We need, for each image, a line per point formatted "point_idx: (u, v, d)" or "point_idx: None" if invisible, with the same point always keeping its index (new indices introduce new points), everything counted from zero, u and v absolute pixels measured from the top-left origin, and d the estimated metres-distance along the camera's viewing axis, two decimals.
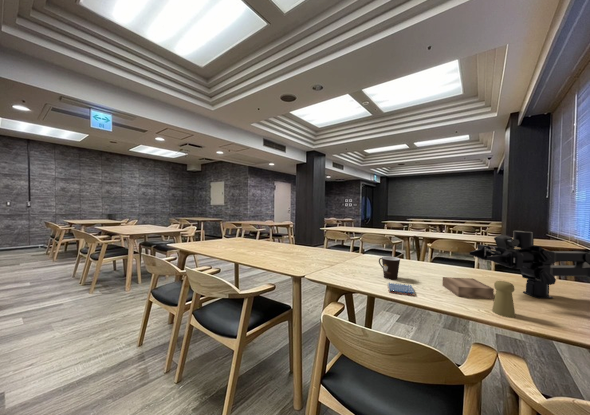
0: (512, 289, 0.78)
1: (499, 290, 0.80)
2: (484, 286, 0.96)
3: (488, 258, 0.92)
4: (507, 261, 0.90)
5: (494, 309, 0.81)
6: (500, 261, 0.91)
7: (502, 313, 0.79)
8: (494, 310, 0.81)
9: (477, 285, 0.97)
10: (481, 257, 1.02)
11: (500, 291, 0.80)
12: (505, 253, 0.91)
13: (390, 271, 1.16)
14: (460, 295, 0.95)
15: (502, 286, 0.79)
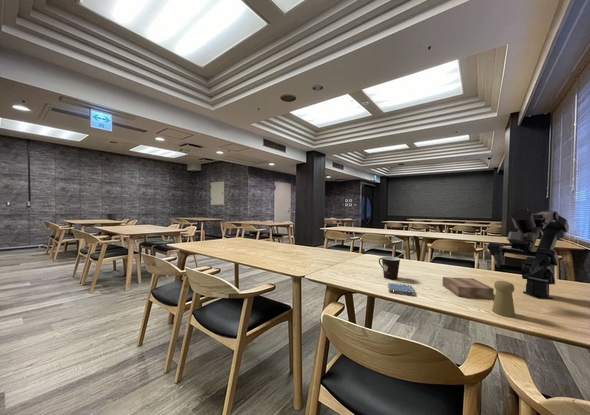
0: (512, 289, 0.78)
1: (499, 290, 0.80)
2: (484, 286, 0.96)
3: (531, 273, 0.81)
4: (543, 262, 0.82)
5: (494, 309, 0.81)
6: (539, 267, 0.81)
7: (502, 313, 0.79)
8: (494, 310, 0.81)
9: (477, 285, 0.97)
10: (502, 259, 0.92)
11: (500, 291, 0.80)
12: (538, 257, 0.81)
13: (390, 271, 1.16)
14: (460, 295, 0.95)
15: (502, 286, 0.79)
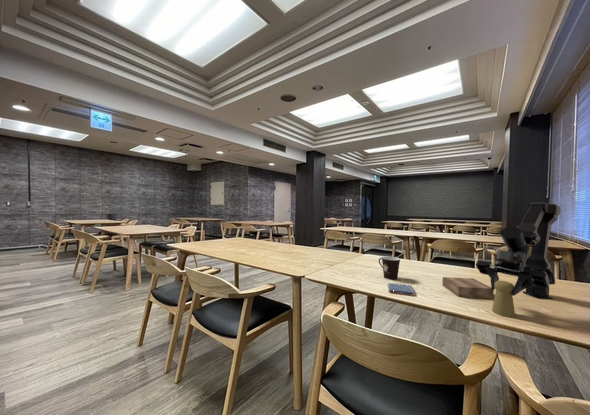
0: (512, 289, 0.78)
1: (499, 290, 0.80)
2: (484, 286, 0.96)
3: (513, 294, 0.78)
4: (525, 282, 0.79)
5: (494, 309, 0.81)
6: (522, 287, 0.78)
7: (502, 313, 0.79)
8: (494, 310, 0.81)
9: (477, 285, 0.97)
10: (497, 279, 0.85)
11: (500, 291, 0.80)
12: (521, 277, 0.78)
13: (390, 271, 1.16)
14: (460, 295, 0.95)
15: (502, 286, 0.79)
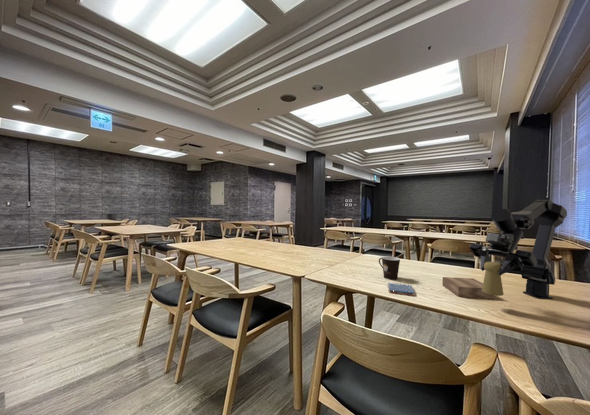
0: (499, 269, 0.82)
1: (487, 270, 0.84)
2: None
3: (500, 273, 0.82)
4: (514, 262, 0.82)
5: (483, 288, 0.85)
6: (509, 267, 0.82)
7: (490, 291, 0.83)
8: (483, 289, 0.85)
9: (477, 285, 0.97)
10: (489, 261, 0.89)
11: (488, 271, 0.84)
12: (508, 257, 0.81)
13: (390, 271, 1.16)
14: (460, 295, 0.95)
15: (490, 266, 0.83)
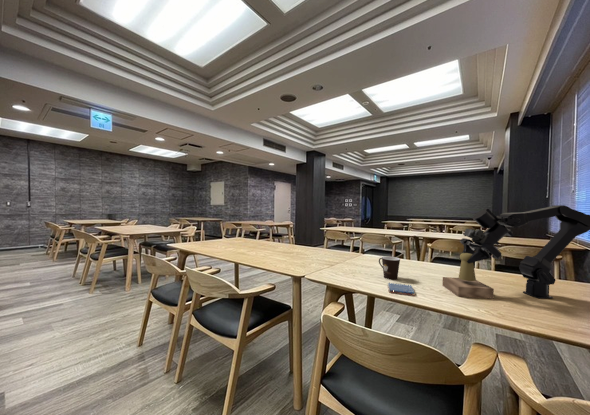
0: None
1: None
2: (484, 286, 0.96)
3: (468, 262, 0.98)
4: (483, 254, 0.95)
5: (459, 274, 1.02)
6: (479, 258, 0.96)
7: (460, 277, 1.00)
8: None
9: (477, 285, 0.97)
10: None
11: (461, 260, 1.01)
12: (476, 249, 0.96)
13: (390, 271, 1.16)
14: (460, 295, 0.95)
15: (461, 255, 1.00)
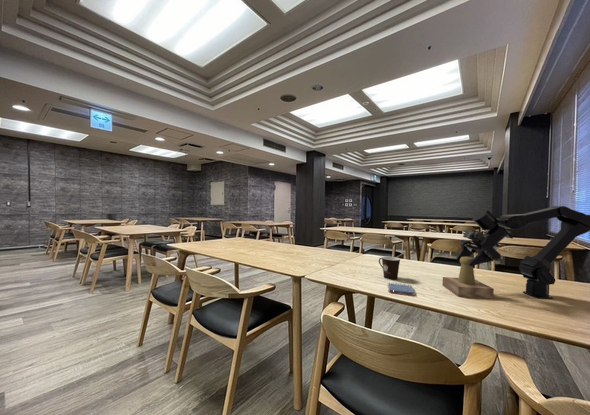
0: (468, 262, 0.98)
1: None
2: (484, 286, 0.96)
3: (470, 265, 0.96)
4: (486, 257, 0.94)
5: None
6: (481, 261, 0.95)
7: (460, 280, 1.00)
8: (458, 279, 1.03)
9: (477, 285, 0.97)
10: (469, 254, 1.05)
11: (461, 264, 1.01)
12: (479, 252, 0.95)
13: (390, 271, 1.16)
14: (460, 295, 0.95)
15: (461, 259, 1.00)
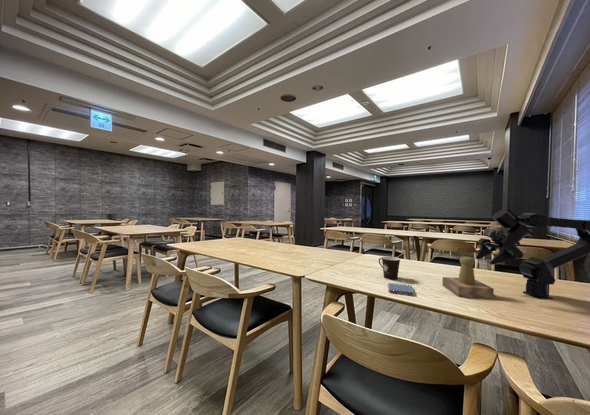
0: (468, 262, 0.98)
1: None
2: (484, 286, 0.96)
3: (491, 263, 0.95)
4: (508, 255, 0.93)
5: None
6: (503, 259, 0.94)
7: (460, 280, 1.00)
8: (458, 279, 1.03)
9: (477, 285, 0.97)
10: (488, 253, 1.04)
11: (461, 264, 1.01)
12: (500, 250, 0.94)
13: (390, 271, 1.16)
14: (460, 295, 0.95)
15: (461, 259, 1.00)
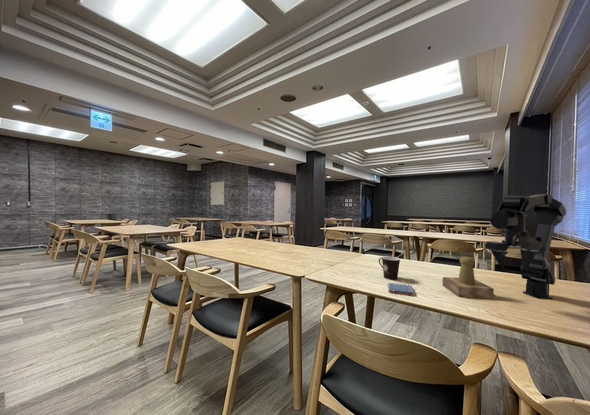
0: (468, 262, 0.98)
1: None
2: (484, 286, 0.96)
3: None
4: None
5: None
6: None
7: (460, 280, 1.00)
8: (458, 279, 1.03)
9: (477, 285, 0.97)
10: None
11: (461, 264, 1.01)
12: (535, 254, 0.89)
13: (390, 271, 1.16)
14: (460, 295, 0.95)
15: (461, 259, 1.01)
